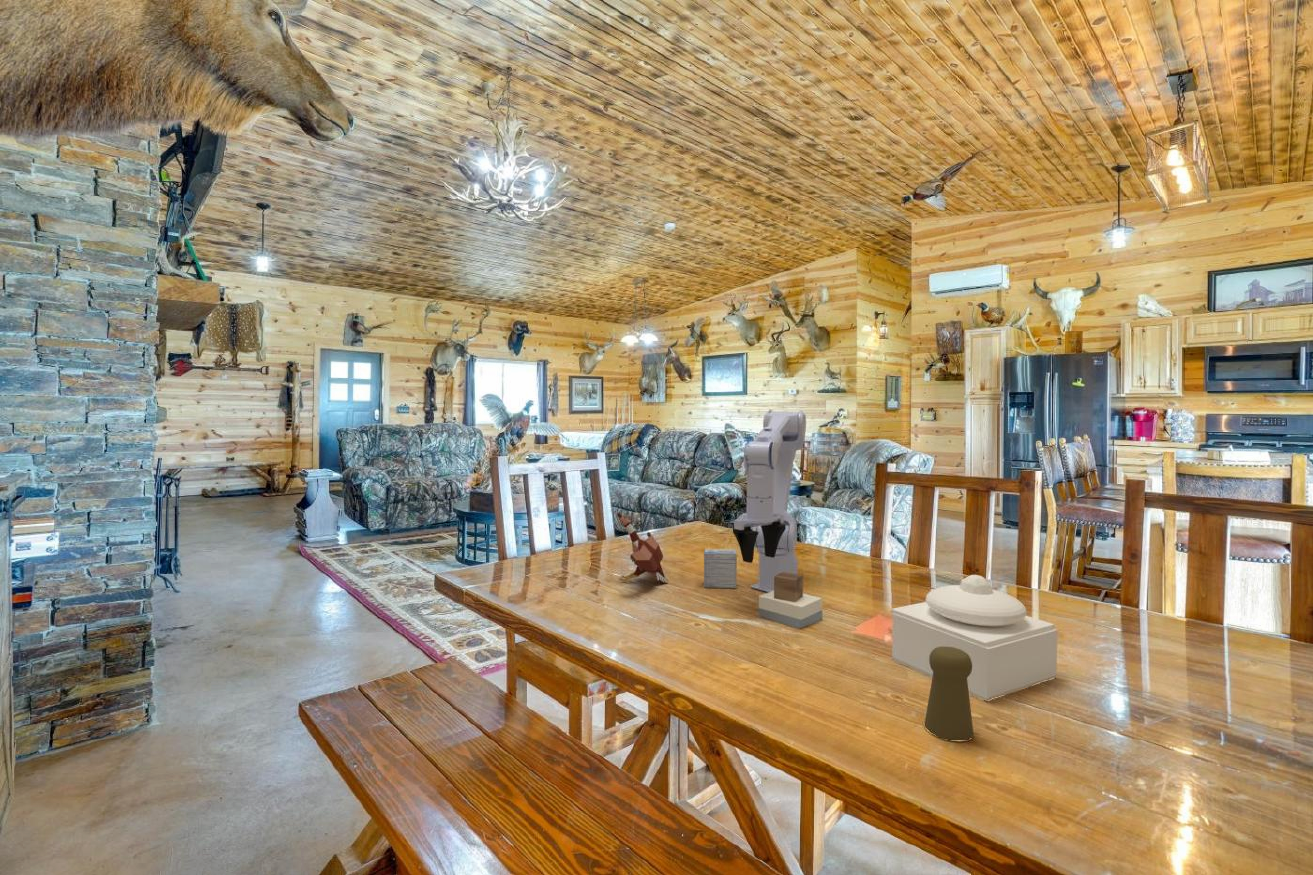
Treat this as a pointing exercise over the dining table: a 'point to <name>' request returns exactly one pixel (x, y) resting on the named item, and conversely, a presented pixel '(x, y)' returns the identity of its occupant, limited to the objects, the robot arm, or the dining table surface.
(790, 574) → the walnut cube
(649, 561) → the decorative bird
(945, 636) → the white saucer-topped box
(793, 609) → the tower top block
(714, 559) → the gray wood grain block
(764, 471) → the robot arm
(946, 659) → the dark olive pawn
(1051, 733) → the dining table surface
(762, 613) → the tower base block
